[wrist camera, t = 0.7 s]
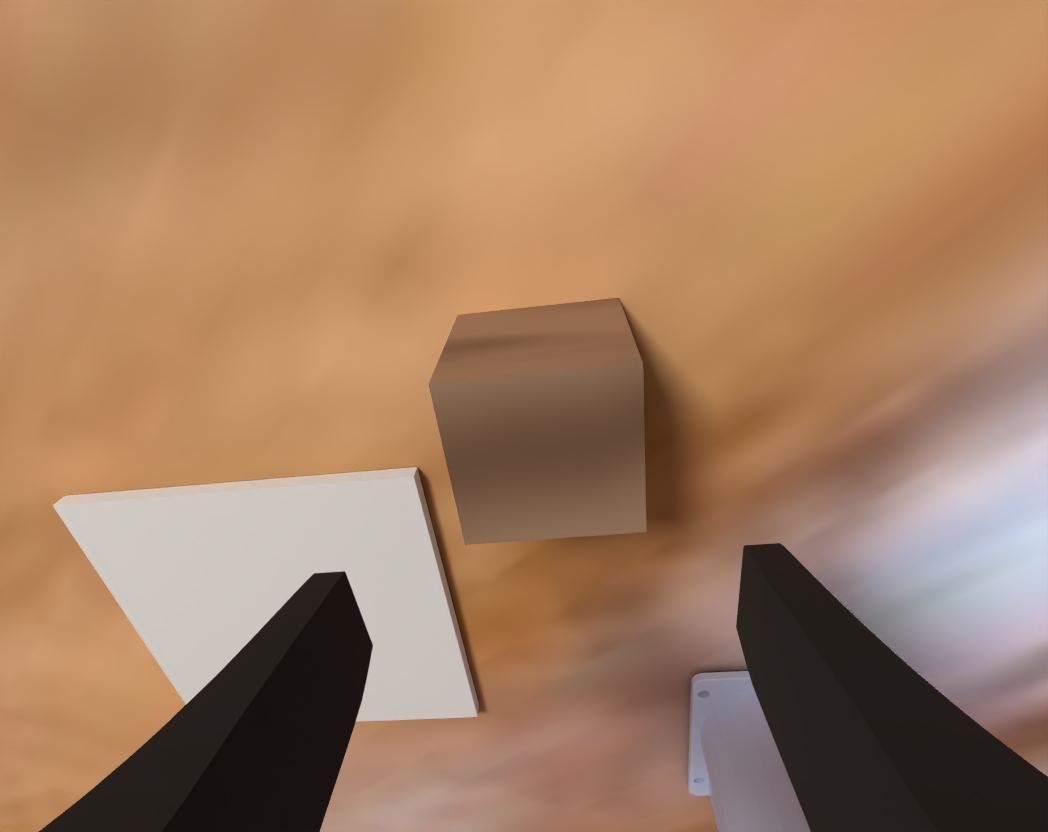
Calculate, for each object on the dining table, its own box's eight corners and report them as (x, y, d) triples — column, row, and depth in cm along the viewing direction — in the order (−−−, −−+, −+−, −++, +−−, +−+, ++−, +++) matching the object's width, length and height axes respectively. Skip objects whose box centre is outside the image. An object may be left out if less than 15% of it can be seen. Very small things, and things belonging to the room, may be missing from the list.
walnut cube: (624, 436, 19) (646, 532, 15) (483, 447, 20) (465, 544, 16) (618, 296, 17) (643, 363, 13) (458, 314, 17) (428, 384, 13)
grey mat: (479, 704, 27) (477, 716, 26) (207, 715, 28) (201, 727, 28) (417, 467, 20) (413, 476, 20) (64, 495, 22) (52, 505, 21)
